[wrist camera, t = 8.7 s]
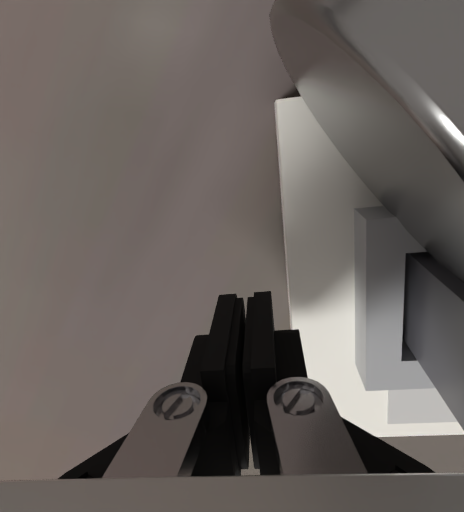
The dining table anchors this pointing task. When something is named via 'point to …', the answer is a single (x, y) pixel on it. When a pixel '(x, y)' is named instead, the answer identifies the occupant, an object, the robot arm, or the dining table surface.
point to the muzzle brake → (388, 103)
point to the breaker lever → (436, 326)
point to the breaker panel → (350, 286)
